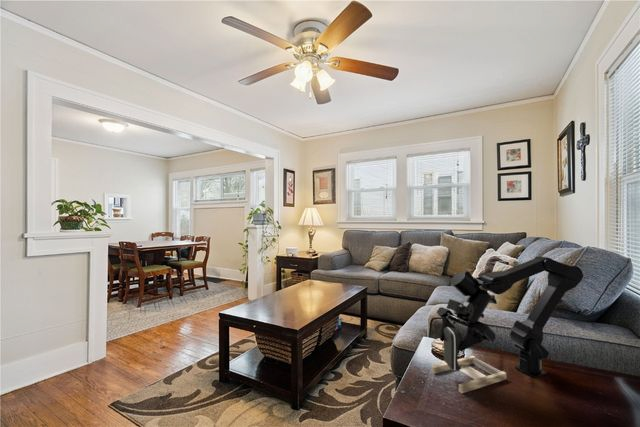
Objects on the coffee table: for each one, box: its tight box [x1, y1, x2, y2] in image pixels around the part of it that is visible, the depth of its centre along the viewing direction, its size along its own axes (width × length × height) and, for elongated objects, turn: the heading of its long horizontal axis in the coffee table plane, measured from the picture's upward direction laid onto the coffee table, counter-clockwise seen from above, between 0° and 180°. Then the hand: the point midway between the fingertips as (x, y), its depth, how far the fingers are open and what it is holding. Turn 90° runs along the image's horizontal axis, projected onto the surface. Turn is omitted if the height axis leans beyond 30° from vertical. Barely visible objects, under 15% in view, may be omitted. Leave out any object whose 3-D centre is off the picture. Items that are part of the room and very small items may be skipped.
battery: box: [443, 327, 464, 371], centre depth 94 cm, size 7×4×11 cm, turn 178°
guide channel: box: [430, 355, 507, 394], centre depth 96 cm, size 19×12×2 cm, turn 112°
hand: (450, 345), depth 93 cm, fingers closed on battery, 7 cm apart
